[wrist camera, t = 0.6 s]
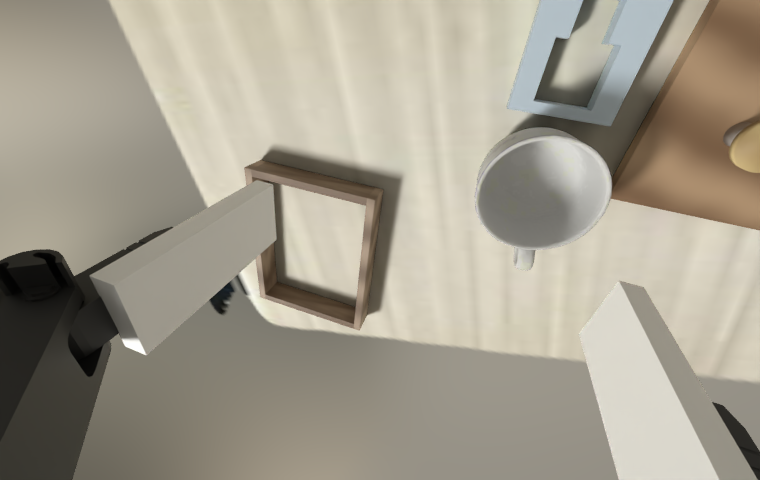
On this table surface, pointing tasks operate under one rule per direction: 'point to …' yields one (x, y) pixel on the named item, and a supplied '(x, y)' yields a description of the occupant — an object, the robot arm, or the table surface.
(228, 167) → the table surface
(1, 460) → the robot arm
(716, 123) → the boss board
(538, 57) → the blue post stand
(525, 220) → the teacup
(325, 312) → the open brown wooden frame
